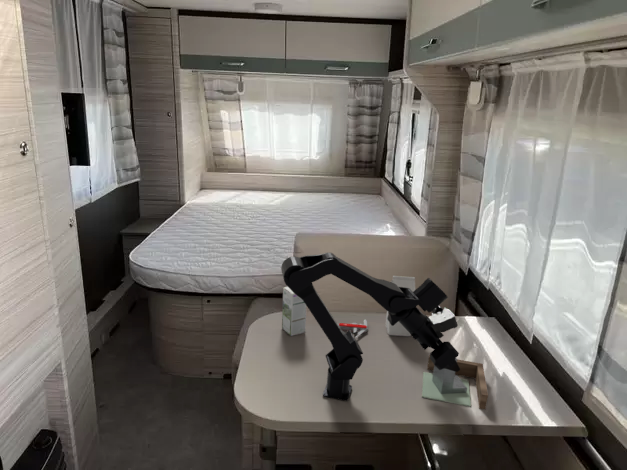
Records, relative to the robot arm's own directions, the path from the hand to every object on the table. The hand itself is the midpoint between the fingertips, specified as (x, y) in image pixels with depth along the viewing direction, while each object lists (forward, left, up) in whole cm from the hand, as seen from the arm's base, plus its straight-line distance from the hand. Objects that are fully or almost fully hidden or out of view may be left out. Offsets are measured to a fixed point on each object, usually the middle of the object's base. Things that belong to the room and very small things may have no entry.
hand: (450, 360), depth 126 cm
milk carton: (+28, +15, -8) cm, 33 cm away
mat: (-1, 0, -8) cm, 8 cm away
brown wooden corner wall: (+1, -2, -8) cm, 8 cm away
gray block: (0, -1, -8) cm, 8 cm away
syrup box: (+16, +47, -8) cm, 51 cm away
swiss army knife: (+24, +30, -8) cm, 39 cm away
